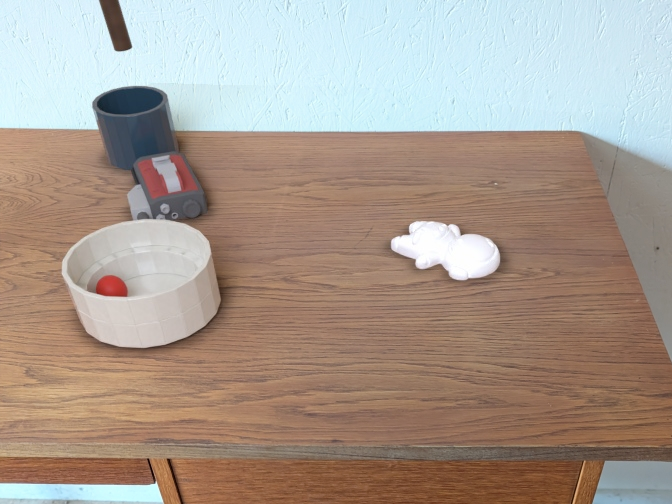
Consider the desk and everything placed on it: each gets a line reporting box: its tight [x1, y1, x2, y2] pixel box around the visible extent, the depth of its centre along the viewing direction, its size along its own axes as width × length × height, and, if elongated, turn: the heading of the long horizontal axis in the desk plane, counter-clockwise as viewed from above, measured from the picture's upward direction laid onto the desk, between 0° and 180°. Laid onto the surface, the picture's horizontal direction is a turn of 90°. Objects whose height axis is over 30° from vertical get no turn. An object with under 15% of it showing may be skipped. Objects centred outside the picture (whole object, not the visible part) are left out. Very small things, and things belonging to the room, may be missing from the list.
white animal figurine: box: [390, 220, 501, 281], centre depth 79 cm, size 9×12×3 cm
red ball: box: [96, 275, 128, 297], centre depth 73 cm, size 3×3×3 cm
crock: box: [91, 85, 180, 171], centre depth 93 cm, size 9×9×7 cm
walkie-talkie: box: [126, 151, 209, 221], centre depth 85 cm, size 9×4×20 cm
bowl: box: [61, 219, 222, 349], centre depth 72 cm, size 14×14×6 cm
